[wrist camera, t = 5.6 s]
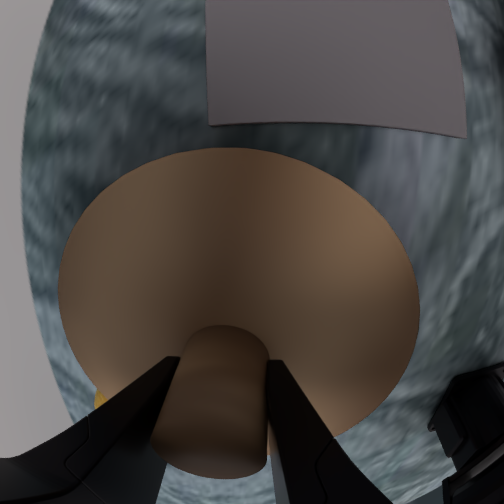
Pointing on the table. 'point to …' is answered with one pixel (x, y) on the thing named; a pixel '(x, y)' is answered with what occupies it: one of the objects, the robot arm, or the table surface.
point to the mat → (335, 64)
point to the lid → (237, 298)
